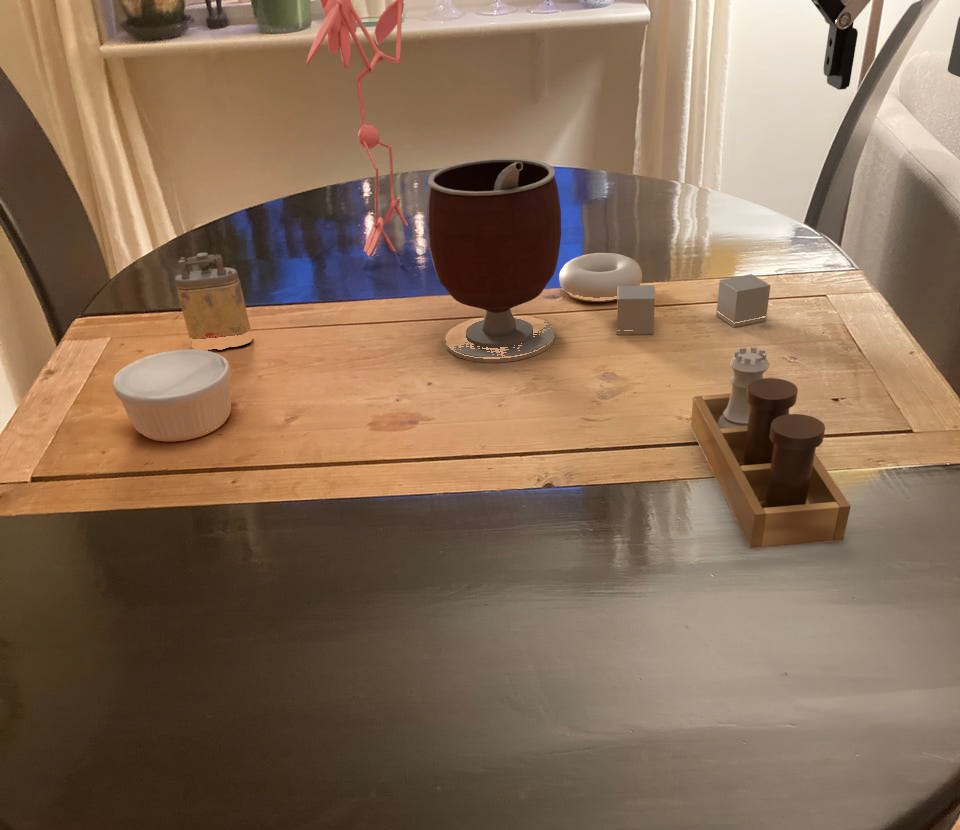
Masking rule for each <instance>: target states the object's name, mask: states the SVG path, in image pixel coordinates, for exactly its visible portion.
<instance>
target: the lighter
mask: <svg viewBox="0 0 960 830" xmlns="http://www.w3.org/2000/svg"><path fill="white" fill-rule="evenodd" d="M210 264H215V265H216V268H210V267H209V266H210ZM177 265H178V269H179V270H180V274H178V275H176V276H175V278H174V282H175V285H176V292H177V295H178V299H179V303H180V308H181V311H182V315H183V318H184V322H185V325H186V329H187V334H188V338H189V339H190V338H192V339H206V338H218V337H226V336H235V335H237V336H238V335H242V334H244V333H246V332H248V330H249V329H251V325H250V321H249V316H248V311H247V308H246V302H245V298H244V294H243V289H242V285H241V280H240V279H239V274H238V270H237V269H235V268H233V267H224V260H223V257H222V255H221V254H220V253H219V254H218V253H216V254H208V252H199V253H197V254H196V256H191V257H187V258H186V257H184V256H182V257H180V258H179V259H178V261H177ZM191 265H193V266H194V265H198V266H199V267H201V270H195V271H193V270H192V271H190V270H189V266H191Z"/></svg>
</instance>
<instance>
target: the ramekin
mask: <svg viewBox="0 0 960 830" xmlns="http://www.w3.org/2000/svg"><path fill="white" fill-rule="evenodd" d="M231 371H232V370H231V367H230V364H229V361H228V360H227V358H225V357H224V356H222V355H221V354H219V353H216V352H214V351H212V350H211V351H206V350H195V349H192V348H189V349H188V348H187V349H175V350H168V351H163V352H159V353H154V354H151V355H147V356H145V357H141V358H139V359H137V360H135V361H133V362H131V363H129V364H127V365H126V366H124V367H122V368H121V369H120V370H119V371H118V372H117V373H116V374H115V375H114V377H113V379H112V387H113V391H114V394H115V396H116V397H117V399H118V400H120V402H121V403H122V405H123V408H124V410H125V412H126V414H127V416H128V418H129V420H130V421H131V423H132V426H133V427H134V428H135V430H136V431H137V432H138V433H139V434H141V435H143V436H144V437H146V438H147V439H150V440H152V441H157V442H166V443H170V442H171V443H175V442H184V441H189V440H194V439H198V438H200V437H204V436H206V435H209V434H211V433H213V432H215V431H216V430H218V429H220V427H222V426H223V425H224V424H225V422H227V420H228V419H229V417H230V415H231V411H232V393H231V392H232V391H231V379H230V378H231V373H232V372H231ZM226 418H227V419H226ZM223 421H224V422H223ZM221 423H222V424H221ZM218 425H219V426H218ZM215 427H216V428H215ZM211 429H212V430H211ZM207 431H208V432H207Z"/></svg>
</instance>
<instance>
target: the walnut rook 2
mask: <svg viewBox="0 0 960 830" xmlns="http://www.w3.org/2000/svg"><path fill="white" fill-rule="evenodd" d="M825 432H826V425H825V424H824V422H822V421H821V420H820V419H819V418H817V417H814V416H811V415H808V414H801V413H789V414H788V415H783V416H779V417H777V418H775V419H774V420H773V421H772V423H771V428H770V435H769V437H770V440H771V441H772V442H773V443H774V446H773V452H772V459H771V466H770V472H769V479H768V486H767V493H766V499H765V502H763V503H762V504H761V506H762V508H769V507H781V506H792V505H804V504H806V500H807V494H808V488H809V483H810V477H811V472H812V466H813V461H814V455H815V454H816V449H817V448H818V447H820V446H821V445H822V444H823V441H824V438H825Z"/></svg>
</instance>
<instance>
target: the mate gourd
mask: <svg viewBox="0 0 960 830" xmlns="http://www.w3.org/2000/svg"><path fill="white" fill-rule="evenodd" d="M555 175H556V170H555V167H553V166H552V165H551V164H548V163H546V162H543V161H539V160H533V159H529V158H528V159H527V158H513V157H510V158H509V157H502V158H486V159H483V158H482V159H475V160H470V161H464V162H459V163H455V164H451V165H447V166H445V167H442V168H439V169H438V170H435V171H434V172H432V173H431V174H430V175H428V178H427V184H428V188H427V195H426V215H425V216H426V219H425V223H426V227H427V228H426V234H427V244H428V249H429V253H430V258H431V262H432V266H433V268H434V272H435V273H436V274H435V275H436V277H437V280H438V282H439V283H440V285H442V287H443V288H444V289H445V290H446V291H447V292H448V294H449V295H450V296H451V297H452V299H454V301H456V302H458V303H460V304H462V305H464V306H468V307H472V308H476V309H481V310H483V311H485V313H484V315H485V316H484V320H482V321H479V322H476V323H474V324H472V325H471V326H469V327H468V328H467V330H466V338H467V340H468V341H469V342H471V343H473V344H474V345H472V346H474V347H472V348H475V349H471V348H470V344H469V345H467V346H469V347H466V344H464V345H461V346H464V347H461V348H459V347H458V345H457V346H454V347H456V348H454V350H455V349H456V350H455V351H457V352H460V353H462V354H464V355H469V356H474V357H502V356H501V355H498V356H497V354H501V352H500V353H496V352H493V353H491V350H490V349H489V350H486V349H482V347H483V348H486V347H488V348H498V349H500V347H508V348H505V349H509V350H506V351H503V352H507V353H504V354H503V355H505V356H515V355H520V354H525V353H529V352H532V353H529V354H526V355H522V356H517V357H511V358H500V359H483V358H474V357H469V356H464V355H462V354H459V353H456V352H454V351H453V350H451V349H450V348H449V347H448V346H447V345H446V343H445V342H444V344H445V345H444V346H445V349H446V350H447V351H448V352H449V353H450V354H451V355H452V356H455V357H456V358H459V359H461V360H462V359H463V360H465V361H470V362H475V363H484V364H485V363H489V364H490V363H493V364H499V363H510V362H516V361H521V360H526V359H529V358H532V357H535V356H537V355H540V354H541V353H543V352H545V351H547V350H548V349H549V348H551V347H552V345H553V344H554V342H555V338H556V336H555V335H556V334H555V335H554V333H555V328H554V327H553V326H552V327H550V326H551V325H552V323H550V322H548V324H549V325H546V327H544V328H543V329H546V330H547V331H544V333H542V330H543V329H541V330H540V331H541V332H540V333H539V331H538V333H534V334H537V335H533V327H532V325H531V324H530V323H528V322H526V321H524V320H521V319H516V318H514V317H513V315H512V313H513V312H512V311H511V309H513V308H514V307H515V308H516V307H518V306H521V305H523V304H525V303H529V302H530V301H533V300H534V299H536V298H537V297H539V296H540V295H541V294H542V292H543V291H544V290H545V288H546V286H547V285H548V284H549V282H551V279H552V278H553V277H554V275H555V272H556V270H557V269H556V268H557V265H558V260H559V255H560V246H561V240H562V209H561V202H560V195H559V189H558V184H557V180H556V176H555ZM544 323H546V322H544ZM547 328H550V329H547ZM539 334H540V335H539ZM533 336H535V337H533ZM553 337H554V338H553ZM552 339H553V340H552ZM551 340H552V341H551ZM550 341H551V342H550ZM549 342H550V343H549ZM465 343H466V342H465ZM521 343H522V344H521ZM548 343H549V344H548ZM547 344H548V345H547ZM514 345H515V346H514ZM518 345H522V346H518ZM545 345H546V346H545ZM477 346H480V347H477ZM543 346H545V347H543ZM513 347H515V348H513ZM518 347H520V348H519V349H517V348H518ZM541 347H543V348H541ZM478 348H480V349H478ZM539 348H541V349H539ZM460 349H461V350H460ZM538 349H539V350H538ZM518 350H520V351H518ZM534 350H538V351H535V352H533V351H534ZM487 351H490V352H487ZM492 351H495V350H492ZM499 351H500V350H499ZM492 354H494V355H492ZM503 357H504V356H503Z"/></svg>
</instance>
